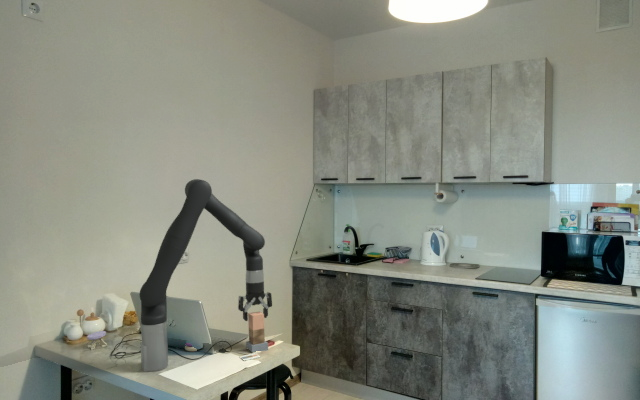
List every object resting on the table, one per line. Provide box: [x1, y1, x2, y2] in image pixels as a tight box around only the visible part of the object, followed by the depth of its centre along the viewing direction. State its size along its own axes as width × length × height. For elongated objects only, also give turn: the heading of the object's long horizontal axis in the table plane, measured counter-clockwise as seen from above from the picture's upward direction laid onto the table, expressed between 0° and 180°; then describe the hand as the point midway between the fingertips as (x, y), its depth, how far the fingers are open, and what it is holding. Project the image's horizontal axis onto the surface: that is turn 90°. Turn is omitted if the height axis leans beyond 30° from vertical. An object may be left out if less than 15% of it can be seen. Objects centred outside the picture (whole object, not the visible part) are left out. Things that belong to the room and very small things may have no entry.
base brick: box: [245, 340, 269, 354], centre depth 188 cm, size 7×7×3 cm
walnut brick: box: [248, 327, 266, 345], centre depth 188 cm, size 5×5×6 cm
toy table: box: [86, 330, 108, 348], centre depth 197 cm, size 10×9×6 cm
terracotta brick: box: [247, 311, 265, 330], centre depth 188 cm, size 5×5×6 cm
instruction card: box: [239, 353, 261, 362], centre depth 179 cm, size 7×5×1 cm
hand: (255, 319), depth 188 cm, fingers open, 8 cm apart
